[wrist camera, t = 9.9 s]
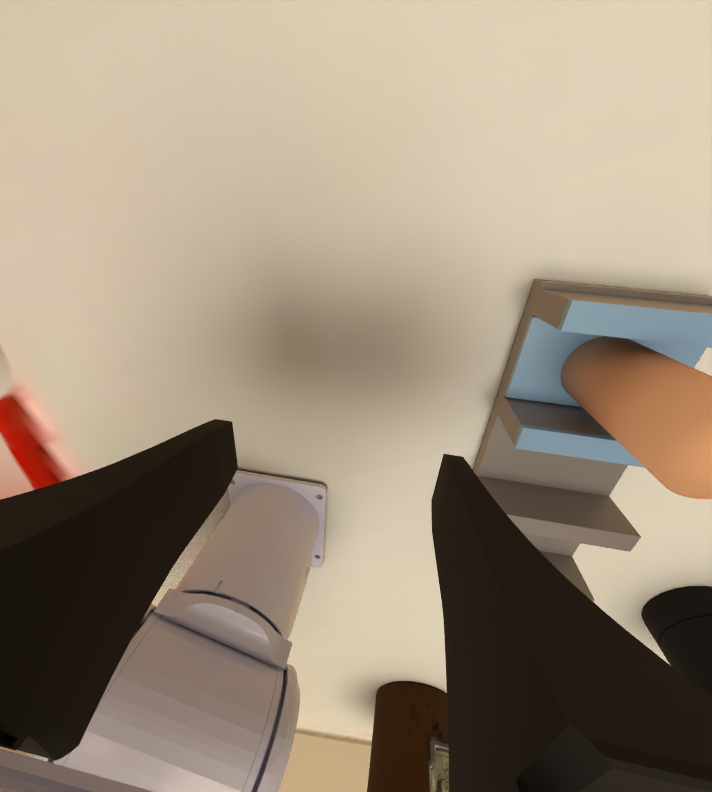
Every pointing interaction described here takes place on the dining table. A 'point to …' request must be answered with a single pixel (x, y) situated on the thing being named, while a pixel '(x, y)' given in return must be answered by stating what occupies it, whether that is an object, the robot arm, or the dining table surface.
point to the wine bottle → (684, 631)
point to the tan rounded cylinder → (648, 408)
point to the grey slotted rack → (574, 414)
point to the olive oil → (409, 740)
